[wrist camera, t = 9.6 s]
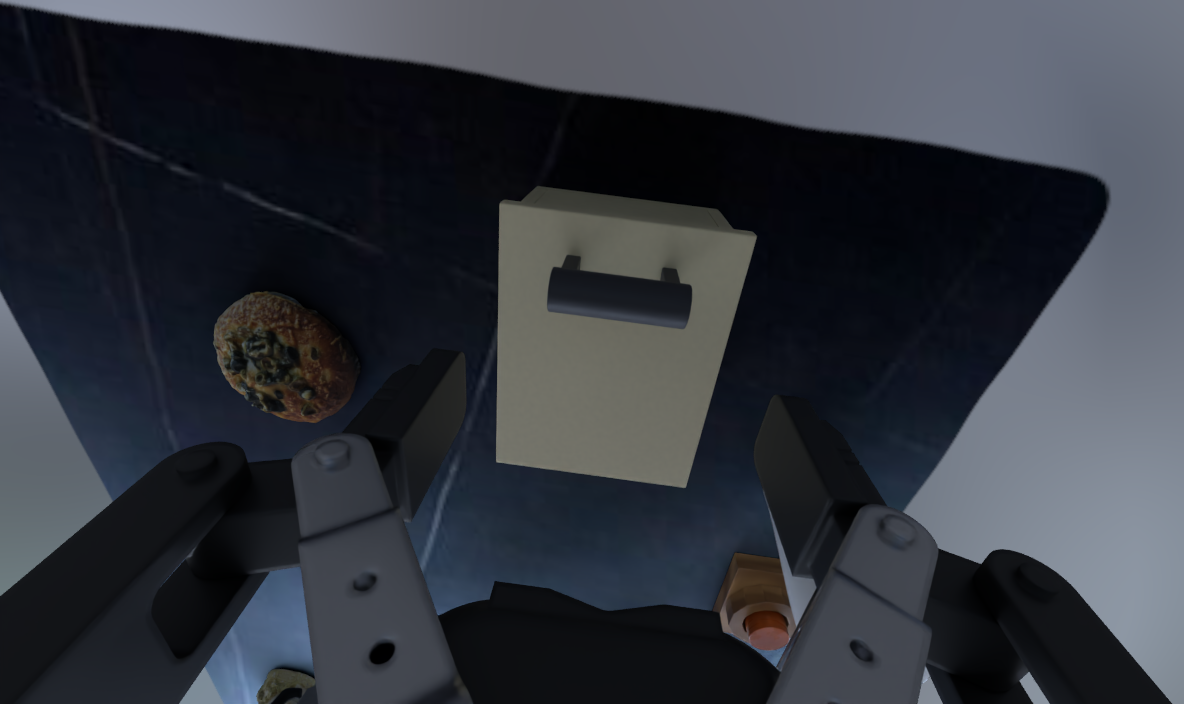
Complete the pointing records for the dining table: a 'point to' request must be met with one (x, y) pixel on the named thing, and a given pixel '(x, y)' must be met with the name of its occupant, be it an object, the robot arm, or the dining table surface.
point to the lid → (610, 338)
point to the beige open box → (627, 206)
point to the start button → (767, 630)
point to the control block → (752, 593)
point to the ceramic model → (283, 685)
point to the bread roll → (285, 357)
